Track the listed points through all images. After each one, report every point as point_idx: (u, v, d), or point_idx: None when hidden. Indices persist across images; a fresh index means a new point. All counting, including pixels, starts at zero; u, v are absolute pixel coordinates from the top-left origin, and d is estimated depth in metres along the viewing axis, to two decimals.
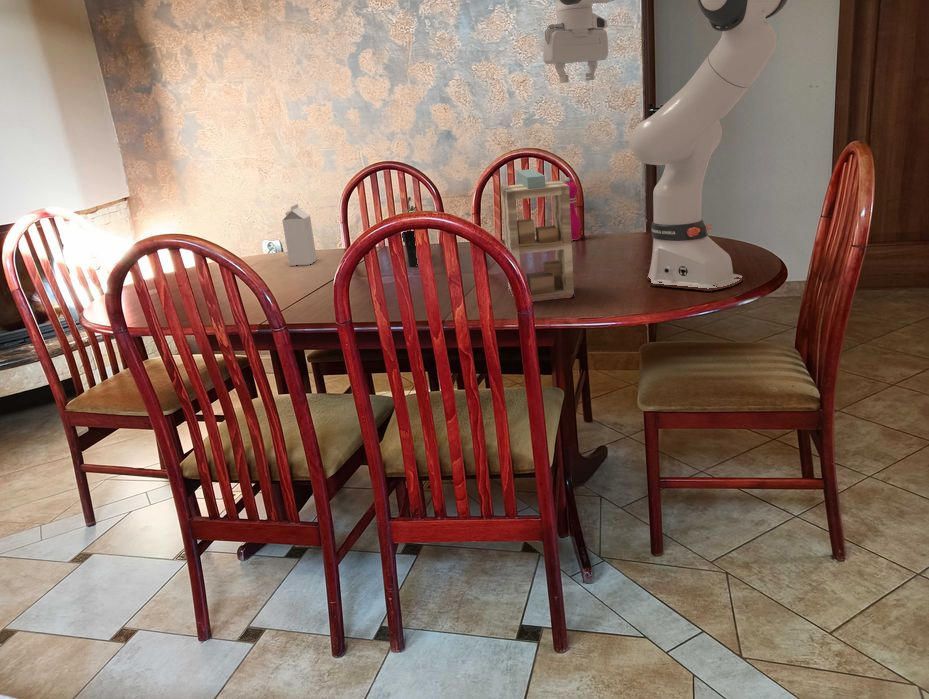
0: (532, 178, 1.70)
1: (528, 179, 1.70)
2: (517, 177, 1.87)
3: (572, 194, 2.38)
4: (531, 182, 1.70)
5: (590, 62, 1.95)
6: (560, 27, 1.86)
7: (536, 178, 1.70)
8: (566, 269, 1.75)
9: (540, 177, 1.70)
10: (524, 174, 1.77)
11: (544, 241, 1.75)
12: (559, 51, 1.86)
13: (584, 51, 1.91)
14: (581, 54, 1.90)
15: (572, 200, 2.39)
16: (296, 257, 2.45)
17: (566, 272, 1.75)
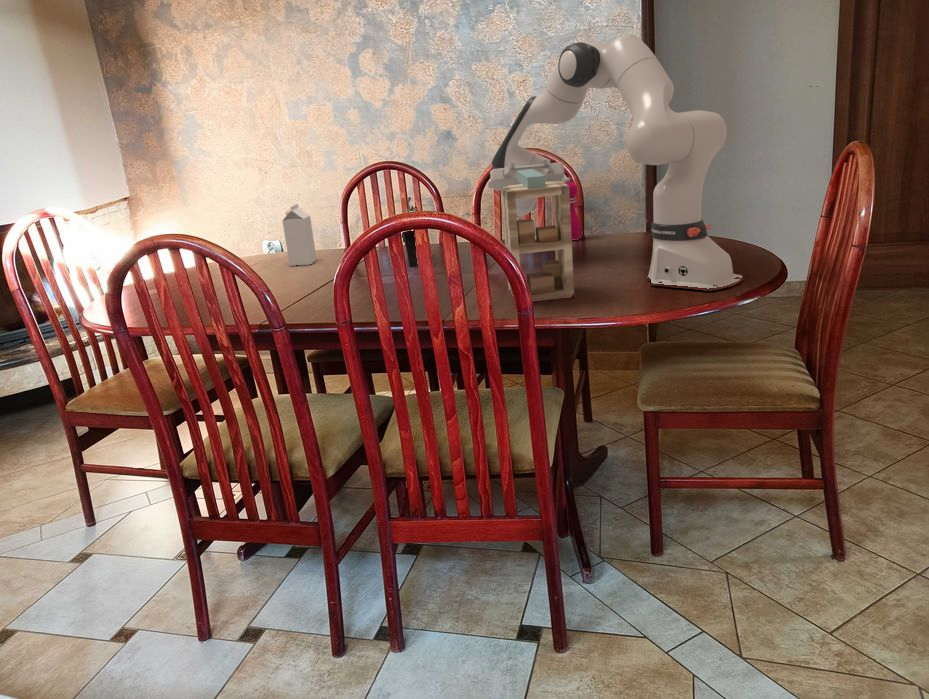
0: (532, 178, 1.70)
1: (528, 179, 1.70)
2: (517, 177, 1.87)
3: (572, 194, 2.38)
4: (531, 182, 1.70)
5: (546, 168, 2.05)
6: None
7: (536, 178, 1.70)
8: (566, 269, 1.75)
9: (540, 177, 1.70)
10: (524, 174, 1.77)
11: (544, 241, 1.75)
12: None
13: None
14: None
15: (572, 200, 2.39)
16: (296, 257, 2.45)
17: (566, 272, 1.75)
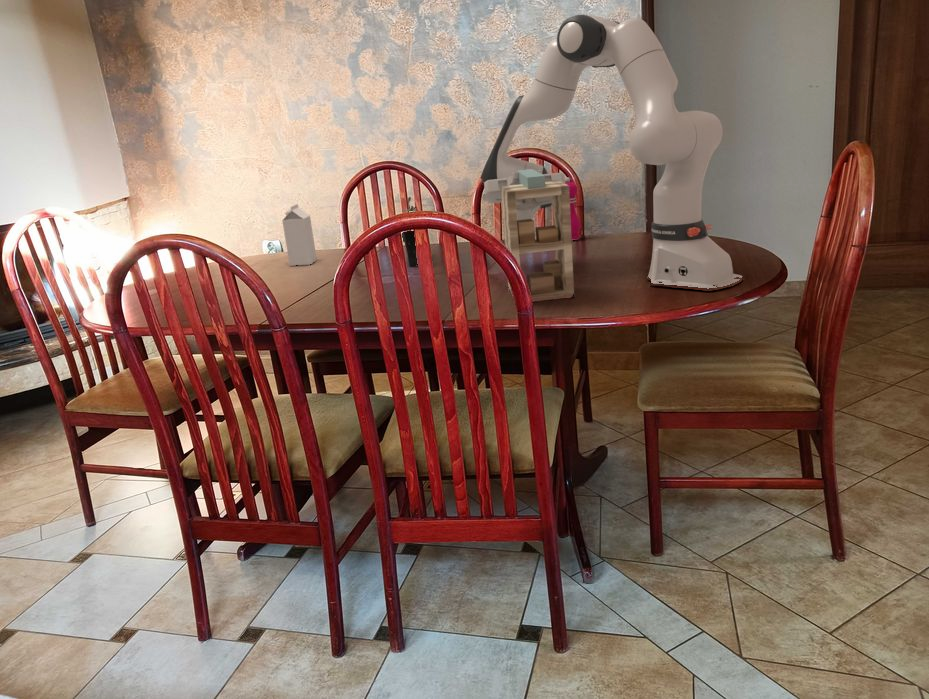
0: (532, 178, 1.70)
1: (528, 179, 1.70)
2: None
3: (572, 194, 2.38)
4: (531, 182, 1.70)
5: None
6: None
7: (536, 178, 1.70)
8: (566, 269, 1.75)
9: (540, 177, 1.70)
10: (524, 174, 1.77)
11: (544, 241, 1.75)
12: None
13: None
14: None
15: (572, 200, 2.39)
16: (296, 257, 2.45)
17: (566, 272, 1.75)
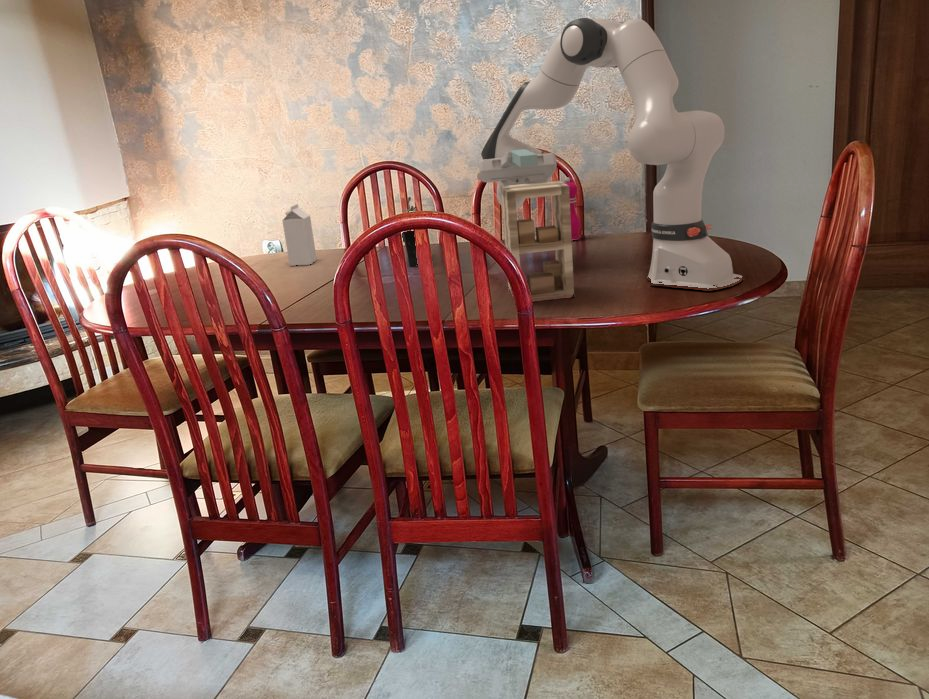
0: (525, 157, 1.77)
1: (521, 158, 1.77)
2: None
3: (572, 194, 2.38)
4: (524, 161, 1.78)
5: None
6: None
7: (528, 157, 1.77)
8: (566, 269, 1.75)
9: (532, 156, 1.77)
10: (517, 153, 1.84)
11: (544, 241, 1.75)
12: None
13: None
14: None
15: (572, 200, 2.39)
16: (296, 257, 2.45)
17: (566, 272, 1.75)
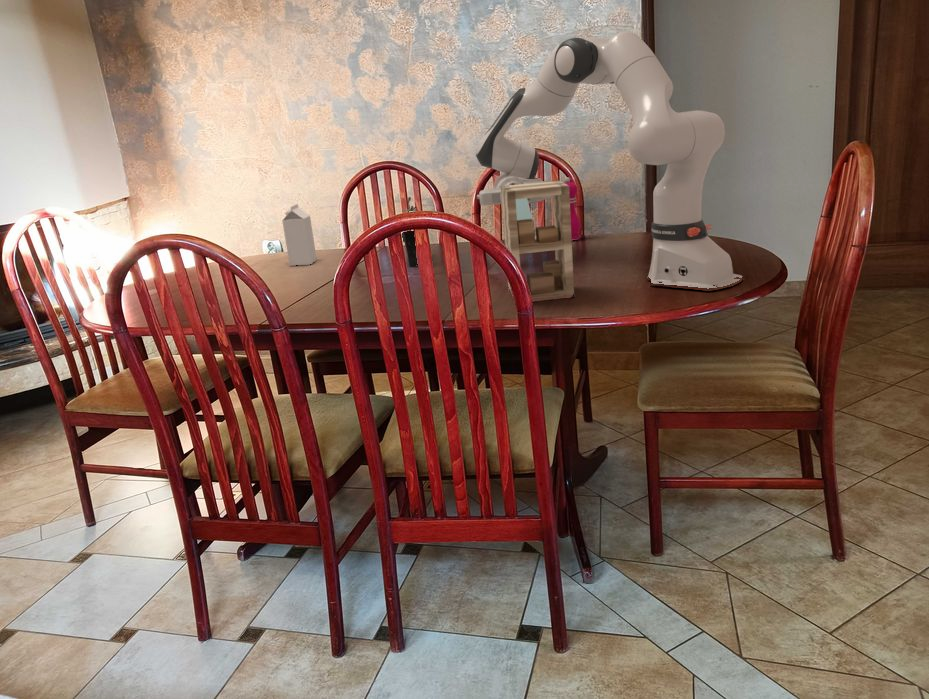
0: None
1: None
2: None
3: (572, 194, 2.38)
4: None
5: None
6: None
7: None
8: (566, 269, 1.75)
9: None
10: (517, 212, 1.98)
11: (544, 241, 1.75)
12: (487, 191, 2.09)
13: None
14: None
15: (572, 200, 2.39)
16: (296, 257, 2.45)
17: (566, 272, 1.75)
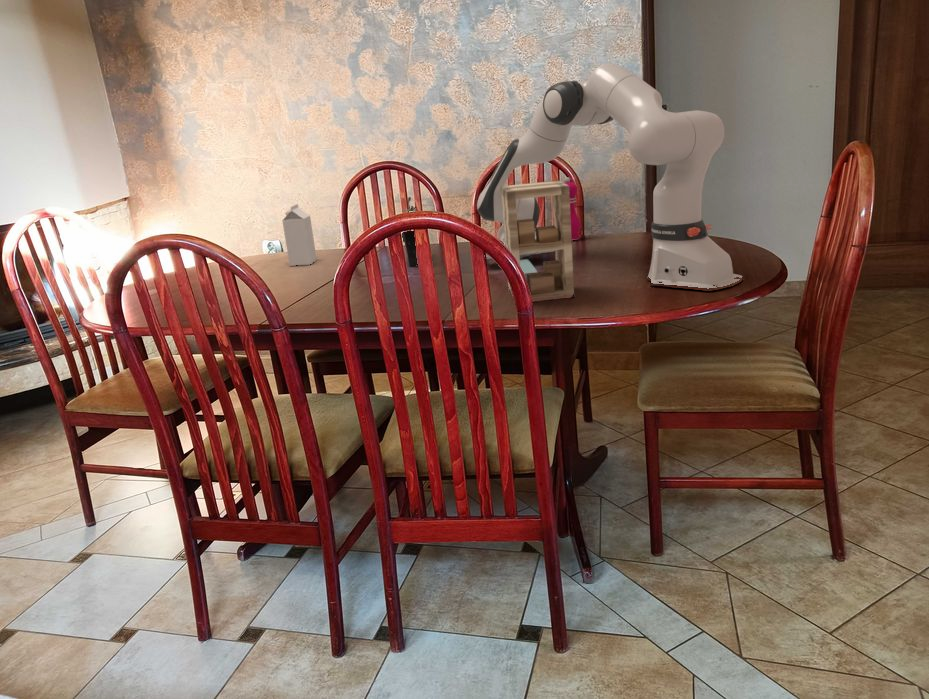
0: None
1: None
2: None
3: (572, 194, 2.38)
4: (526, 277, 1.97)
5: None
6: None
7: None
8: (566, 269, 1.75)
9: None
10: None
11: (544, 241, 1.75)
12: None
13: None
14: None
15: (572, 200, 2.39)
16: (296, 257, 2.45)
17: (566, 272, 1.75)
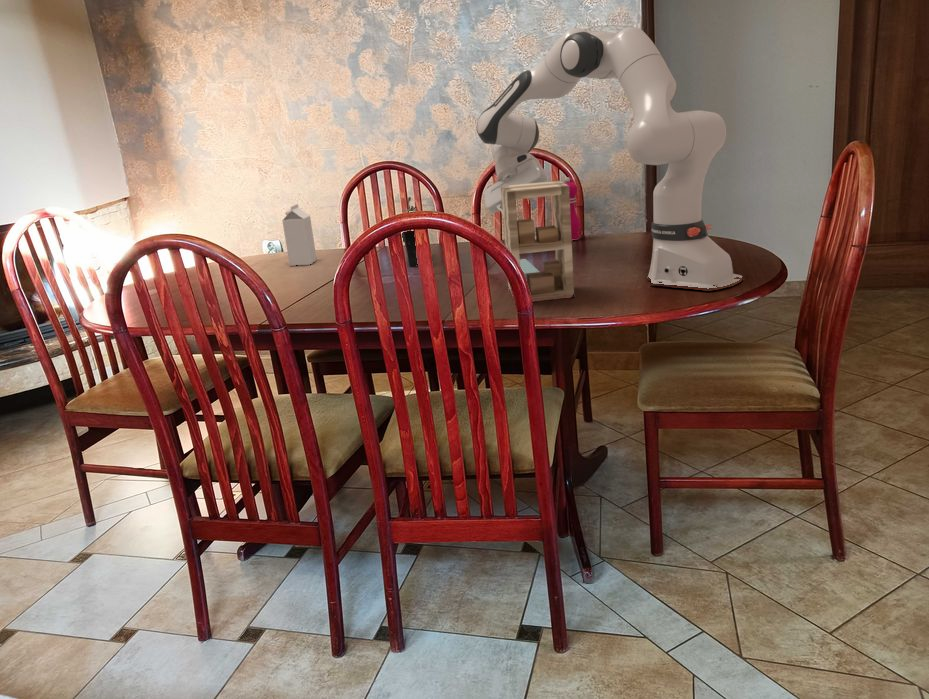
0: None
1: (525, 275, 1.97)
2: None
3: (572, 194, 2.38)
4: None
5: None
6: None
7: None
8: (566, 269, 1.75)
9: None
10: None
11: (544, 241, 1.75)
12: (490, 199, 2.25)
13: (515, 184, 2.21)
14: None
15: (572, 200, 2.39)
16: (296, 257, 2.45)
17: (566, 272, 1.75)
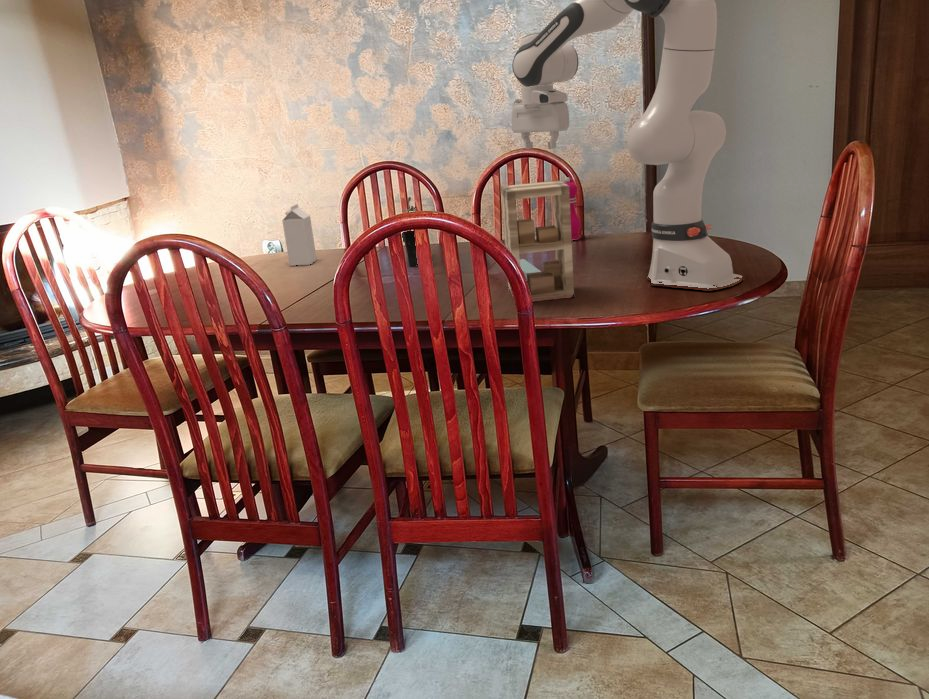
0: None
1: None
2: None
3: (572, 194, 2.38)
4: None
5: None
6: None
7: None
8: (566, 269, 1.75)
9: None
10: (521, 267, 2.03)
11: (544, 241, 1.75)
12: (515, 123, 2.16)
13: (537, 123, 2.09)
14: (534, 126, 2.10)
15: (572, 200, 2.39)
16: (296, 257, 2.45)
17: (566, 272, 1.75)
